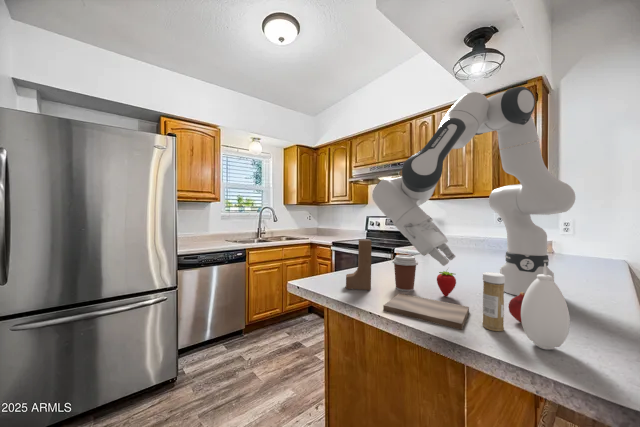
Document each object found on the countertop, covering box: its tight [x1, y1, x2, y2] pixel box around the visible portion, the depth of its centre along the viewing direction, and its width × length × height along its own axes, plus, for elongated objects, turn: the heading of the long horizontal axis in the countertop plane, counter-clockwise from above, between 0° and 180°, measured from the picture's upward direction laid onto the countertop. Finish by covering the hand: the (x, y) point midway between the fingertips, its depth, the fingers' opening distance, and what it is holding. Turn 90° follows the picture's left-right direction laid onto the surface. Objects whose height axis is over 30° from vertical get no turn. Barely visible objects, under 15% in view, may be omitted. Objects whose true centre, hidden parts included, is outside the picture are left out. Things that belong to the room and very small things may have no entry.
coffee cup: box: [391, 254, 419, 292], centre depth 96 cm, size 9×9×12 cm
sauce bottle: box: [521, 263, 571, 351], centre depth 55 cm, size 8×8×18 cm
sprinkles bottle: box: [481, 271, 505, 332], centre depth 64 cm, size 5×5×14 cm
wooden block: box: [345, 238, 372, 291], centre depth 96 cm, size 9×4×18 cm, turn 84°
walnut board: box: [382, 292, 470, 331], centre depth 74 cm, size 14×20×2 cm
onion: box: [508, 292, 525, 324], centre depth 67 cm, size 6×6×8 cm
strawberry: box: [436, 268, 457, 298], centre depth 88 cm, size 6×8×10 cm
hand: (450, 261), depth 70 cm, fingers open, 8 cm apart
